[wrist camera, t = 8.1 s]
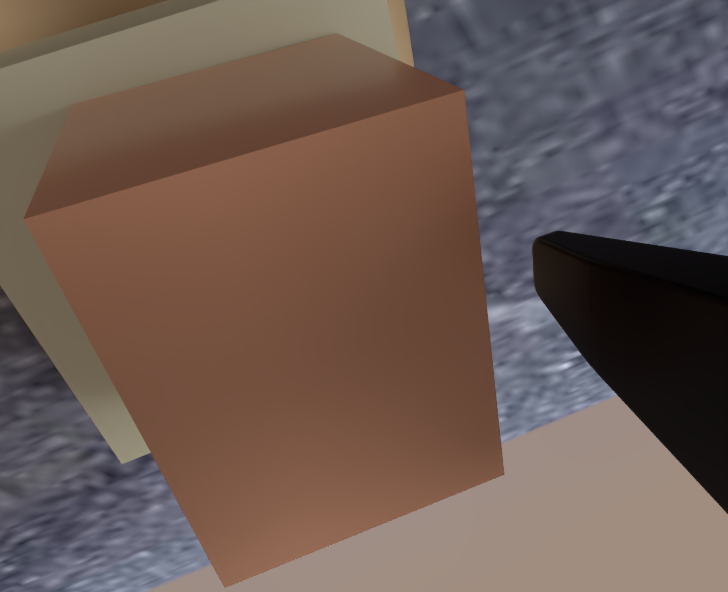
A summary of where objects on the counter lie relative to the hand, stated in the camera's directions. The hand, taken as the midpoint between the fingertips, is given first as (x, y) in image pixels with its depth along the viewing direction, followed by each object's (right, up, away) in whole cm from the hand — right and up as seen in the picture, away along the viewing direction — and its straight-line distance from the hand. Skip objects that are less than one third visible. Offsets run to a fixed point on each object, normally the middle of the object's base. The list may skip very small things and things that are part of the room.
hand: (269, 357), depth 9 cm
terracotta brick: (-1, +2, +3) cm, 3 cm away
